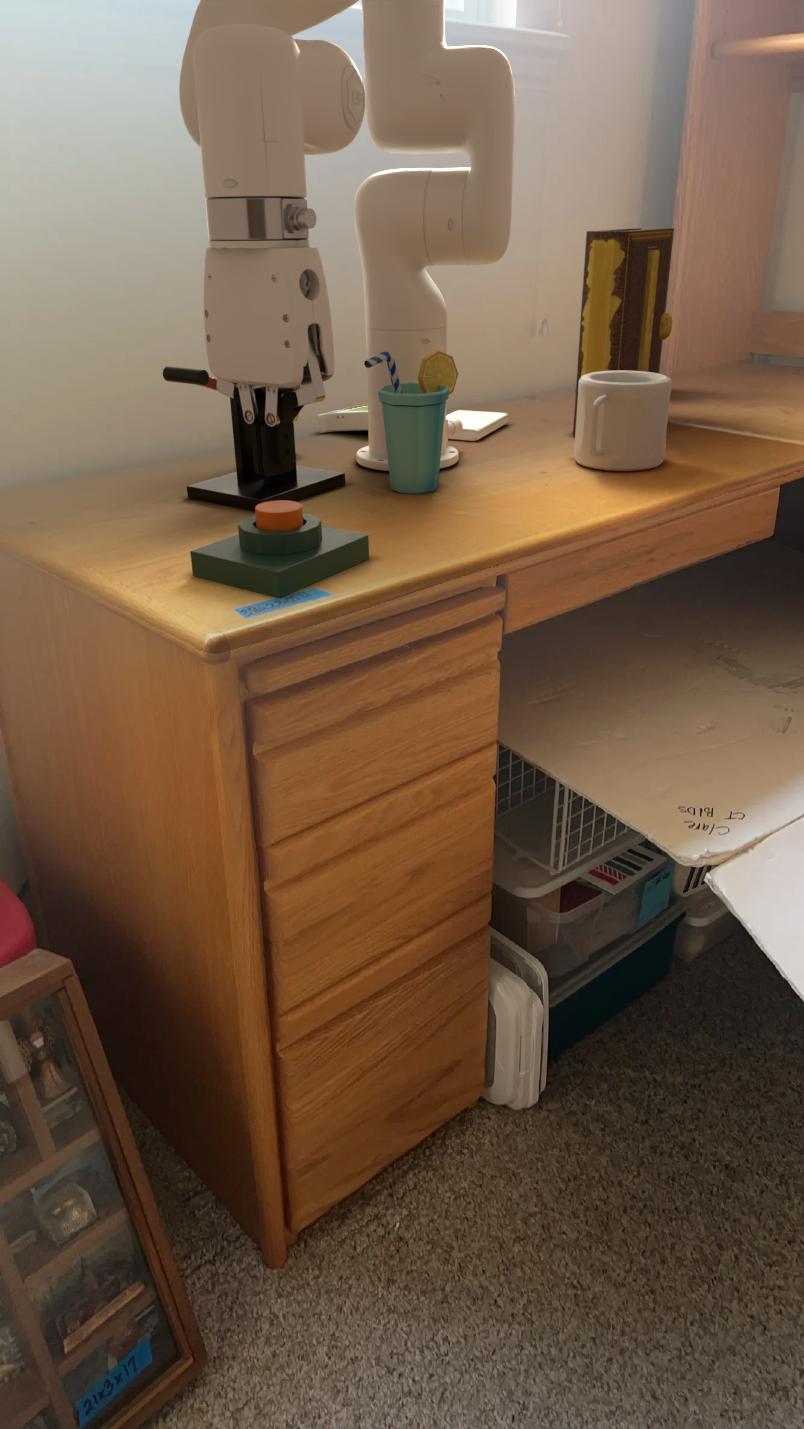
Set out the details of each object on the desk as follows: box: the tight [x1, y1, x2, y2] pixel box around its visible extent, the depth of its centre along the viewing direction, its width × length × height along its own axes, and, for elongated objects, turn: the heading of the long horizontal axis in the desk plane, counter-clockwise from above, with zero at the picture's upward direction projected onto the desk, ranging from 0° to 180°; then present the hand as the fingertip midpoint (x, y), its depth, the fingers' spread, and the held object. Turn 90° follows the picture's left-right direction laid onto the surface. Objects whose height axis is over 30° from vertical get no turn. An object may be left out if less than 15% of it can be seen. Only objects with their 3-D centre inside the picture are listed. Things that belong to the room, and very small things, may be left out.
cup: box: [363, 351, 459, 495], centre depth 106 cm, size 14×8×15 cm, turn 143°
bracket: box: [186, 389, 346, 512], centre depth 107 cm, size 14×11×12 cm
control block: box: [189, 512, 370, 599], centre depth 85 cm, size 12×10×4 cm
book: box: [572, 227, 675, 437], centre depth 135 cm, size 22×8×25 cm, turn 151°
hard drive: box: [446, 409, 509, 442], centre depth 138 cm, size 2×8×12 cm
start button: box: [254, 500, 304, 530], centre depth 84 cm, size 4×4×2 cm
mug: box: [573, 370, 673, 472], centre depth 116 cm, size 14×11×10 cm
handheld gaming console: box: [316, 405, 368, 434], centre depth 137 cm, size 11×3×15 cm
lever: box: [162, 365, 219, 392], centre depth 101 cm, size 13×5×2 cm, turn 145°
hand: (274, 471), depth 82 cm, fingers closed
